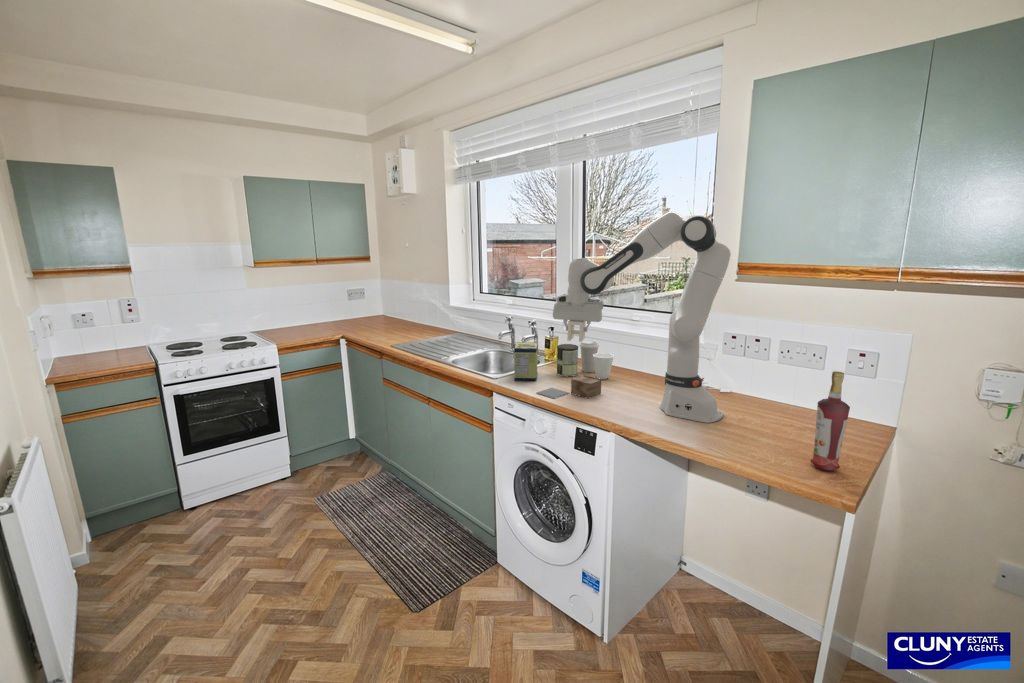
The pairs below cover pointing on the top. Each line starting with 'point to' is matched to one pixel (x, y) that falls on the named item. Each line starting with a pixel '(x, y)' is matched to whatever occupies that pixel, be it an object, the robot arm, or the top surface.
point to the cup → (603, 364)
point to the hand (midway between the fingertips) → (576, 331)
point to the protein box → (525, 361)
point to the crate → (586, 386)
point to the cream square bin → (578, 332)
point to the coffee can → (567, 360)
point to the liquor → (830, 427)
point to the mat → (553, 392)
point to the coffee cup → (588, 355)
